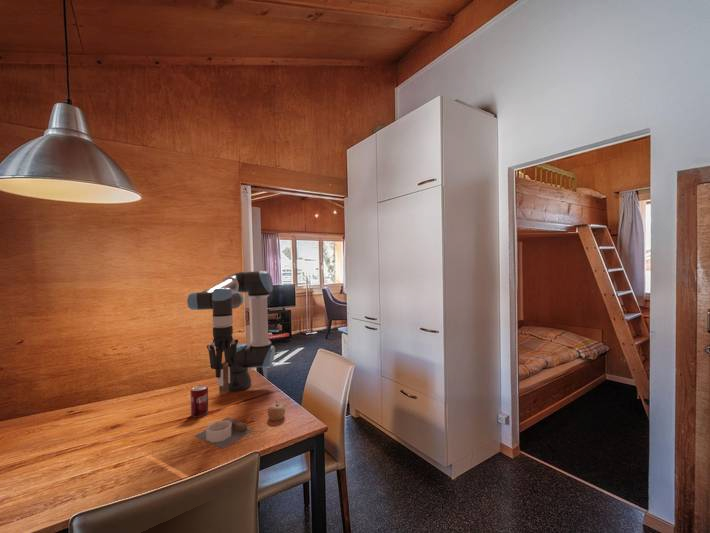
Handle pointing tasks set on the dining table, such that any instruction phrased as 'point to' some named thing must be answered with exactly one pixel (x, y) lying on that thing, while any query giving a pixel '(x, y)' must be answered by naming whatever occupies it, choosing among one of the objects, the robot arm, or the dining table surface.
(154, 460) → the dining table surface
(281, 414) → the fruit
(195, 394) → the soda can
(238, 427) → the bar
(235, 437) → the slate board
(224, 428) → the white octagonal bowl
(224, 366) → the brown wooden bar
